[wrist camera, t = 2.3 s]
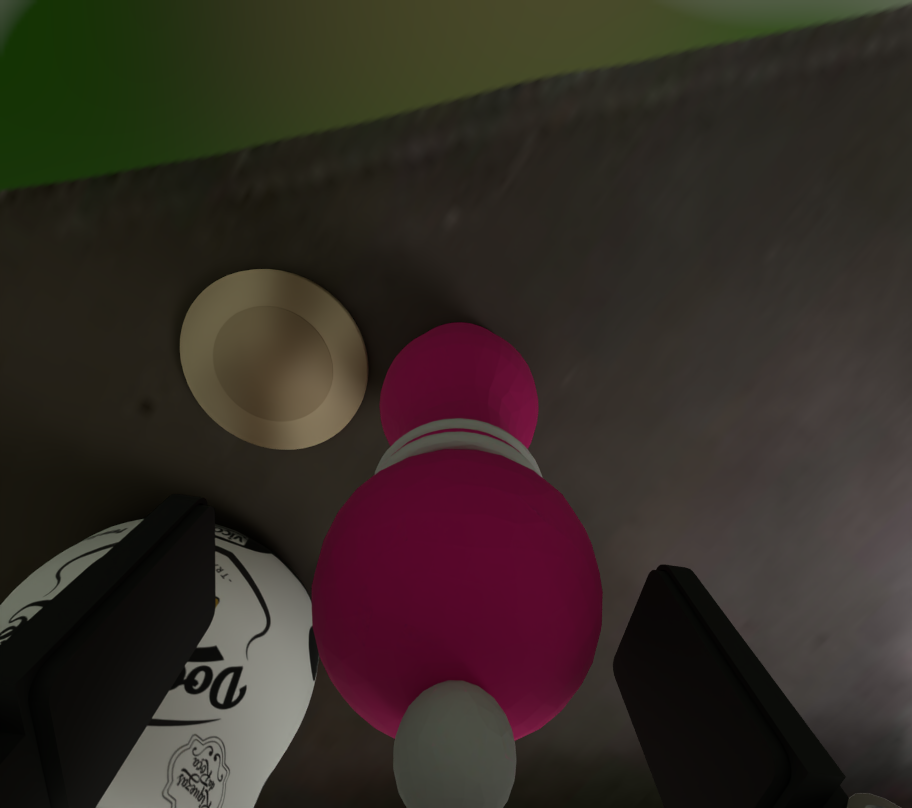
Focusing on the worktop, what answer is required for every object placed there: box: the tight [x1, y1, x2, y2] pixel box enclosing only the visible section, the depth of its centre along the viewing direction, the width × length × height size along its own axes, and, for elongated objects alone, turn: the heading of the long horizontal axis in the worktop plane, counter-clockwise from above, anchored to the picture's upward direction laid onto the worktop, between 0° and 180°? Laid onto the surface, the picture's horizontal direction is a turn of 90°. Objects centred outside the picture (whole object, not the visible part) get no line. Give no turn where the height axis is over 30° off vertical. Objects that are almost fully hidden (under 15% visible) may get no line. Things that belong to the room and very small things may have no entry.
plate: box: [180, 269, 369, 450], centre depth 24 cm, size 10×10×1 cm
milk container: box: [0, 519, 319, 808], centre depth 22 cm, size 17×17×18 cm
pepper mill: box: [312, 322, 603, 808], centre depth 15 cm, size 7×7×20 cm
